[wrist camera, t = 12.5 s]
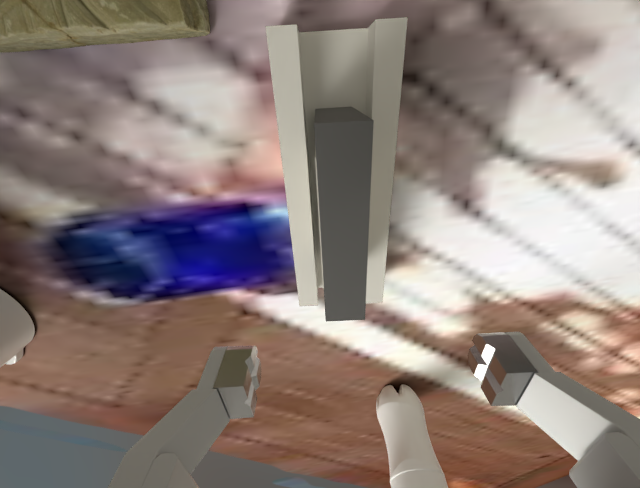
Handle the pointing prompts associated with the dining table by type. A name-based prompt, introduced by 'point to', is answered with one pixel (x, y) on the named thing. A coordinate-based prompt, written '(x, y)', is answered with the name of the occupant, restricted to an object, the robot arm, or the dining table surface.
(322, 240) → the picture frame
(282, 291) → the dining table surface
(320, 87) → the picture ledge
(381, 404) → the water bottle
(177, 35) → the decorative tile
